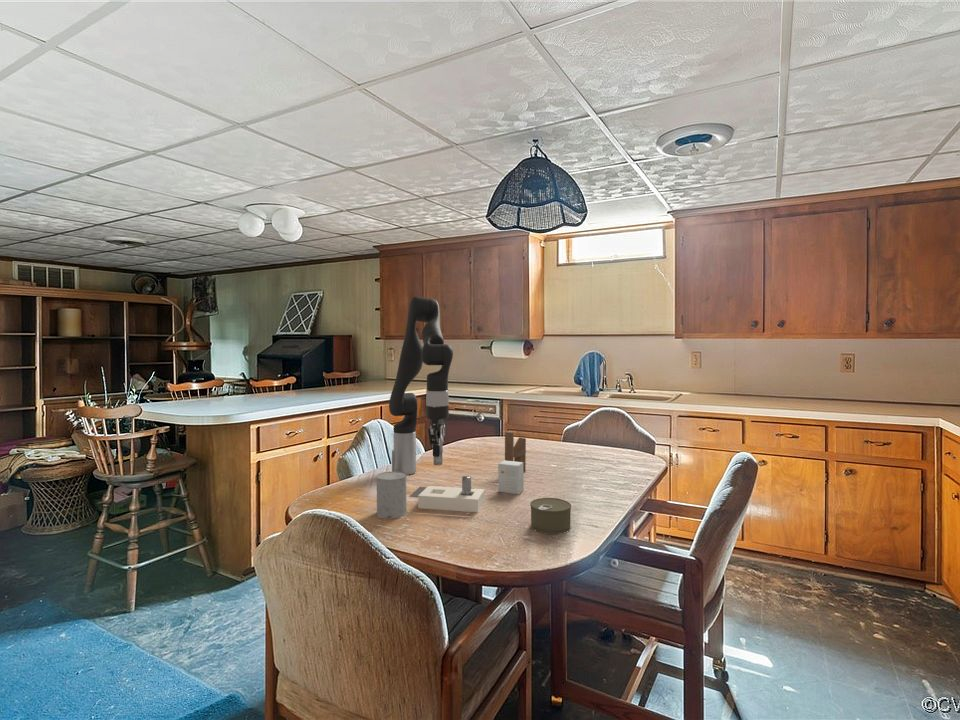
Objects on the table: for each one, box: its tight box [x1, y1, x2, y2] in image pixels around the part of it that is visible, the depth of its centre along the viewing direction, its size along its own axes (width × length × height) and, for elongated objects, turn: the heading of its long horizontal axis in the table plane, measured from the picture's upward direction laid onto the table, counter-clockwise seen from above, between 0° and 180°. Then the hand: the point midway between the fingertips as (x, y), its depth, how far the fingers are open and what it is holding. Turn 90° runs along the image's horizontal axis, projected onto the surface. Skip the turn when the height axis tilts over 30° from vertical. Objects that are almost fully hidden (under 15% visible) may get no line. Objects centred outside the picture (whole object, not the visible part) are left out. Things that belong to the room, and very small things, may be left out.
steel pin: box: [432, 435, 443, 466], centre depth 166 cm, size 3×3×10 cm
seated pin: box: [461, 475, 472, 496], centre depth 164 cm, size 3×3×10 cm
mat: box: [408, 486, 428, 498], centre depth 178 cm, size 14×12×1 cm
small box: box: [497, 459, 525, 495], centre depth 181 cm, size 8×6×10 cm
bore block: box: [417, 485, 486, 514], centre depth 165 cm, size 20×11×4 cm, turn 78°
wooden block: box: [504, 430, 527, 473], centre depth 205 cm, size 4×11×18 cm, turn 137°
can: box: [530, 497, 572, 535], centre depth 147 cm, size 12×12×7 cm
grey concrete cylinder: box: [375, 471, 408, 520], centre depth 158 cm, size 10×10×12 cm
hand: (437, 455), depth 166 cm, fingers closed on steel pin, 3 cm apart
